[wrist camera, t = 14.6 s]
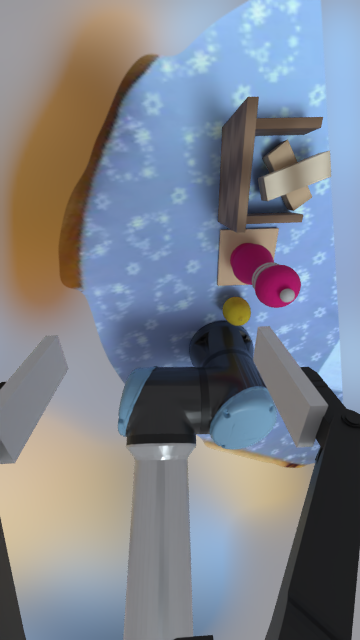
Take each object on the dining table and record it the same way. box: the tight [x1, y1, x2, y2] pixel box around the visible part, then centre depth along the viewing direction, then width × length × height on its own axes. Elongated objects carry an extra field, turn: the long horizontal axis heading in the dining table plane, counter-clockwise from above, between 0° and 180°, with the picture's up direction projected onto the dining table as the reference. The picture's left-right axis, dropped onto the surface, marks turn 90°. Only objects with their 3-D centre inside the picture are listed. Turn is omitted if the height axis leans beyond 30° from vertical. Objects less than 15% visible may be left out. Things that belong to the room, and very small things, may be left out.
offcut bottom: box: [262, 140, 312, 211], centre depth 41 cm, size 10×4×3 cm, turn 37°
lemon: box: [223, 297, 251, 326], centre depth 50 cm, size 6×6×8 cm
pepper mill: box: [230, 243, 301, 308], centre depth 39 cm, size 7×7×20 cm
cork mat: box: [217, 228, 279, 286], centre depth 48 cm, size 11×11×1 cm
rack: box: [218, 97, 323, 233], centre depth 36 cm, size 14×14×14 cm
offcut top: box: [258, 151, 331, 201], centre depth 38 cm, size 10×4×3 cm, turn 110°
